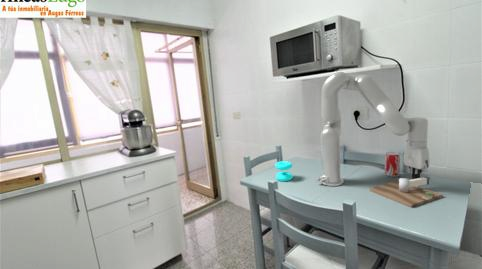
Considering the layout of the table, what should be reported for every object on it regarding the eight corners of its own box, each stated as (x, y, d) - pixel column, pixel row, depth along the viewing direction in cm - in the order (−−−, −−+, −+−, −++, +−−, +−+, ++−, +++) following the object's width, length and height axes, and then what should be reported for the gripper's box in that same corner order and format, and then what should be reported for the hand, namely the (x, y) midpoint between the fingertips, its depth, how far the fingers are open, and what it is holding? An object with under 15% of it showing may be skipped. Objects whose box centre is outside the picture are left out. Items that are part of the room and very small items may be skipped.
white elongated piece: (403, 192, 112) (404, 181, 111) (396, 189, 116) (397, 178, 115) (431, 187, 115) (431, 176, 114) (423, 184, 119) (423, 174, 118)
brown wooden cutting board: (411, 207, 101) (411, 204, 101) (369, 190, 121) (369, 187, 121) (444, 196, 108) (444, 193, 108) (398, 182, 128) (399, 179, 128)
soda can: (381, 174, 141) (382, 152, 139) (393, 172, 141) (394, 151, 139) (390, 178, 134) (390, 155, 132) (402, 176, 135) (403, 154, 132)
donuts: (272, 162, 149) (287, 159, 152) (273, 177, 150) (287, 175, 153) (279, 166, 139) (295, 163, 142) (280, 183, 141) (295, 179, 144)
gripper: (397, 142, 121) (396, 176, 124) (425, 148, 107) (423, 187, 110) (409, 140, 123) (408, 174, 126) (439, 145, 108) (437, 184, 111)
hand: (415, 180), depth 118 cm, fingers closed
